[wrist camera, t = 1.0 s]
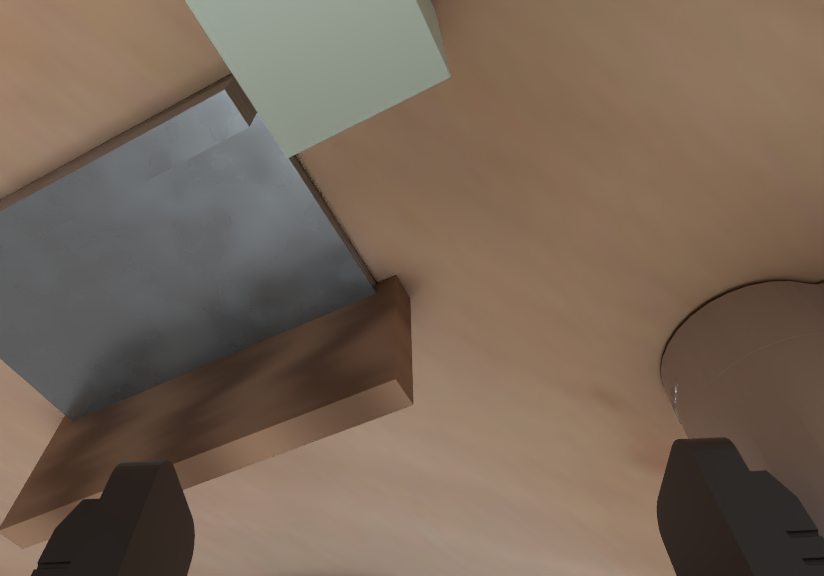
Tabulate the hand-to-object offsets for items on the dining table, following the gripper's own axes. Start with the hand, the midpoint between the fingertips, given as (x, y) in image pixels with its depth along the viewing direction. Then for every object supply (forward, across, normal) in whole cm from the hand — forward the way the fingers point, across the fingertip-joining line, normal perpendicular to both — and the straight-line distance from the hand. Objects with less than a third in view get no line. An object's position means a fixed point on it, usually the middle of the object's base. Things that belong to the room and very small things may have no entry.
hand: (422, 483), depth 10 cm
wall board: (+18, +10, +12) cm, 24 cm away
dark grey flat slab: (+18, +12, +6) cm, 23 cm away
